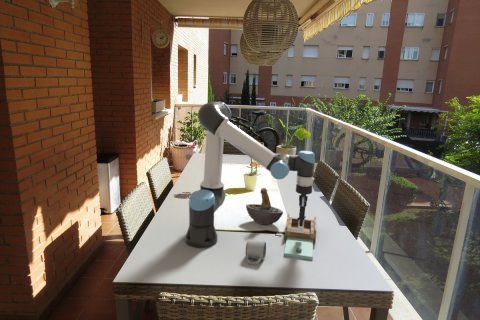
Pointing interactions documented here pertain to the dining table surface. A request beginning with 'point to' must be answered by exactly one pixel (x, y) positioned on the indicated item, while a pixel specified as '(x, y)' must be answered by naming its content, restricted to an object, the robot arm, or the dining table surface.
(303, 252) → the lid
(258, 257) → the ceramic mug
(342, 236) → the dining table surface
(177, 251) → the dining table surface
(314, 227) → the box
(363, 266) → the dining table surface
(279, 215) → the planter
